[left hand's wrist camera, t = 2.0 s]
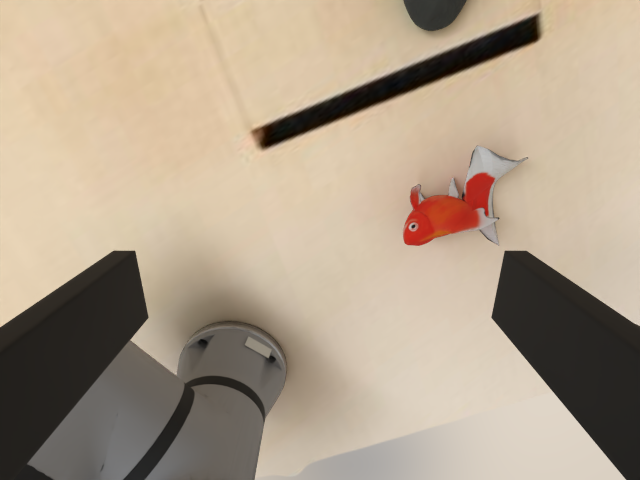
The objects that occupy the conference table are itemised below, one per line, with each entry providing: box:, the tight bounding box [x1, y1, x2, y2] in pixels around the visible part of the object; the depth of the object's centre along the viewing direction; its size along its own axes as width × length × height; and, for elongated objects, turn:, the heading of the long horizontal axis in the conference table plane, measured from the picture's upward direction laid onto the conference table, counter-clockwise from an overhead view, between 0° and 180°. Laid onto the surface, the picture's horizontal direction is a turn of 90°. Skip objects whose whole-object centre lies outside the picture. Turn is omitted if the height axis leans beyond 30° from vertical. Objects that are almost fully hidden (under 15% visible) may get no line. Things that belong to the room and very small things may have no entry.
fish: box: [403, 146, 528, 246], centre depth 38 cm, size 11×16×10 cm
